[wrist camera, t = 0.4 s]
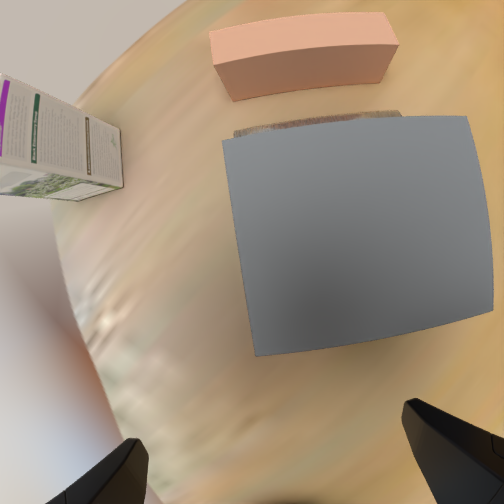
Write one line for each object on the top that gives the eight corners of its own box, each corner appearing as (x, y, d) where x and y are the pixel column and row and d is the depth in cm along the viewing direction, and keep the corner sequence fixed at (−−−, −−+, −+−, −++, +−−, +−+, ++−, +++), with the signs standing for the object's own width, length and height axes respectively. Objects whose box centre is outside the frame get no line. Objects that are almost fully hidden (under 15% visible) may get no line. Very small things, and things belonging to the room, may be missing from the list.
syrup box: (121, 127, 24) (-1, 64, 9) (125, 190, 24) (-18, 161, 10) (74, 146, 24) (-46, 108, 10) (76, 205, 25) (-56, 194, 10)
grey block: (419, 279, 18) (493, 310, 9) (274, 303, 20) (255, 356, 11) (402, 161, 18) (466, 116, 9) (255, 180, 19) (221, 140, 11)
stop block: (379, 83, 20) (399, 44, 14) (233, 101, 22) (213, 65, 16) (369, 53, 20) (383, 12, 14) (228, 71, 22) (208, 31, 16)
